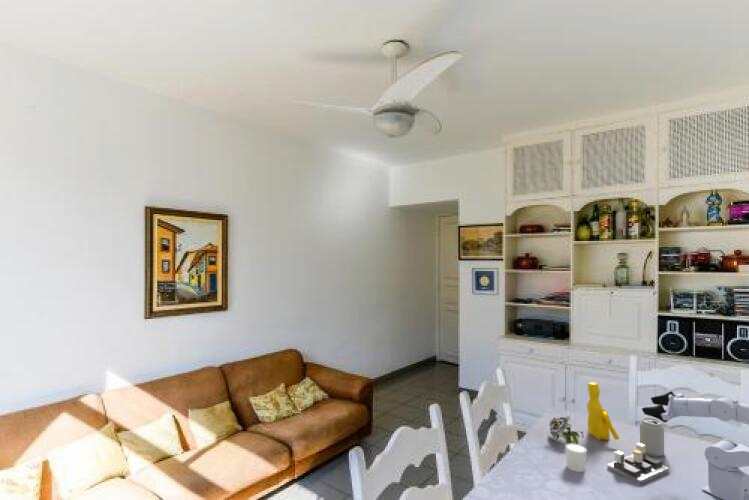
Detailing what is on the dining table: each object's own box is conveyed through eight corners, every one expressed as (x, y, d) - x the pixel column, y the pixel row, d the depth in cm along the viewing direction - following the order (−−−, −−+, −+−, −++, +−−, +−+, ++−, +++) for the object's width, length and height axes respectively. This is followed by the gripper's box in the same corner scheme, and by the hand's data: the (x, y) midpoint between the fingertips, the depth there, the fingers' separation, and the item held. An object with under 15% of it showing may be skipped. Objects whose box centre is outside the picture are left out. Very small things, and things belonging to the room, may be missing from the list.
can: (668, 458, 146) (668, 425, 146) (645, 456, 148) (645, 424, 148) (658, 448, 154) (657, 417, 154) (636, 446, 155) (636, 415, 155)
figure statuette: (623, 447, 155) (623, 390, 155) (604, 448, 154) (604, 391, 154) (593, 426, 173) (593, 375, 173) (576, 428, 172) (575, 376, 172)
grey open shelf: (668, 472, 137) (668, 453, 137) (640, 485, 131) (639, 465, 130) (635, 457, 147) (635, 439, 147) (607, 468, 140) (607, 450, 140)
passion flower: (554, 453, 162) (542, 422, 168) (581, 448, 162) (567, 416, 168) (562, 449, 152) (549, 416, 159) (590, 443, 152) (575, 410, 159)
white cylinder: (575, 474, 137) (575, 453, 137) (560, 464, 144) (560, 444, 144) (591, 471, 139) (591, 450, 139) (576, 461, 146) (576, 441, 146)
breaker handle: (642, 461, 138) (642, 452, 138) (639, 463, 138) (638, 453, 138) (636, 458, 140) (636, 449, 140) (632, 460, 139) (632, 450, 139)
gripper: (693, 385, 137) (651, 385, 148) (677, 406, 129) (634, 405, 140) (702, 405, 136) (659, 403, 147) (687, 427, 128) (643, 424, 139)
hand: (647, 405), depth 144 cm, fingers open, 7 cm apart
